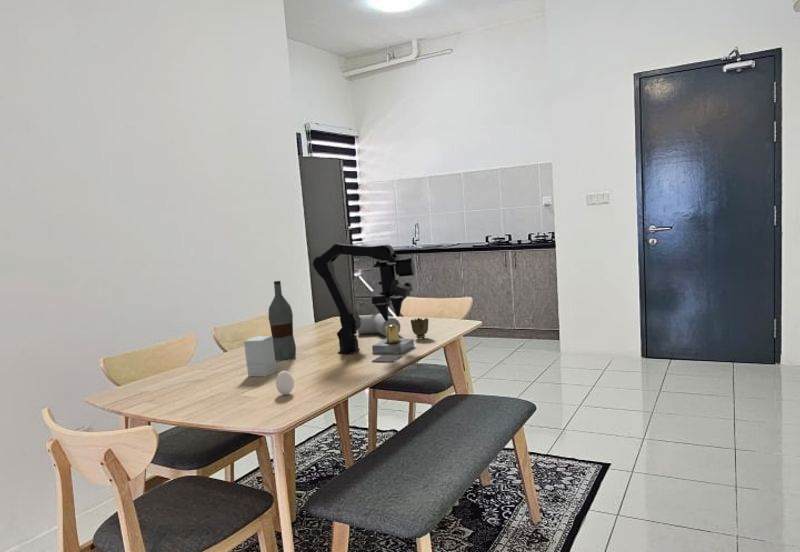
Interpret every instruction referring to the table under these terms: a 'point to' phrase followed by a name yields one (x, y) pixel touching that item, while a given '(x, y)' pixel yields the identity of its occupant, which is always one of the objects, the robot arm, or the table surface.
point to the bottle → (281, 326)
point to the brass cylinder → (392, 334)
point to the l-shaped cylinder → (376, 324)
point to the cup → (420, 327)
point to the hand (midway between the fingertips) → (392, 318)
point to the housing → (393, 346)
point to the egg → (284, 382)
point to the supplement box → (260, 356)
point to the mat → (386, 358)
